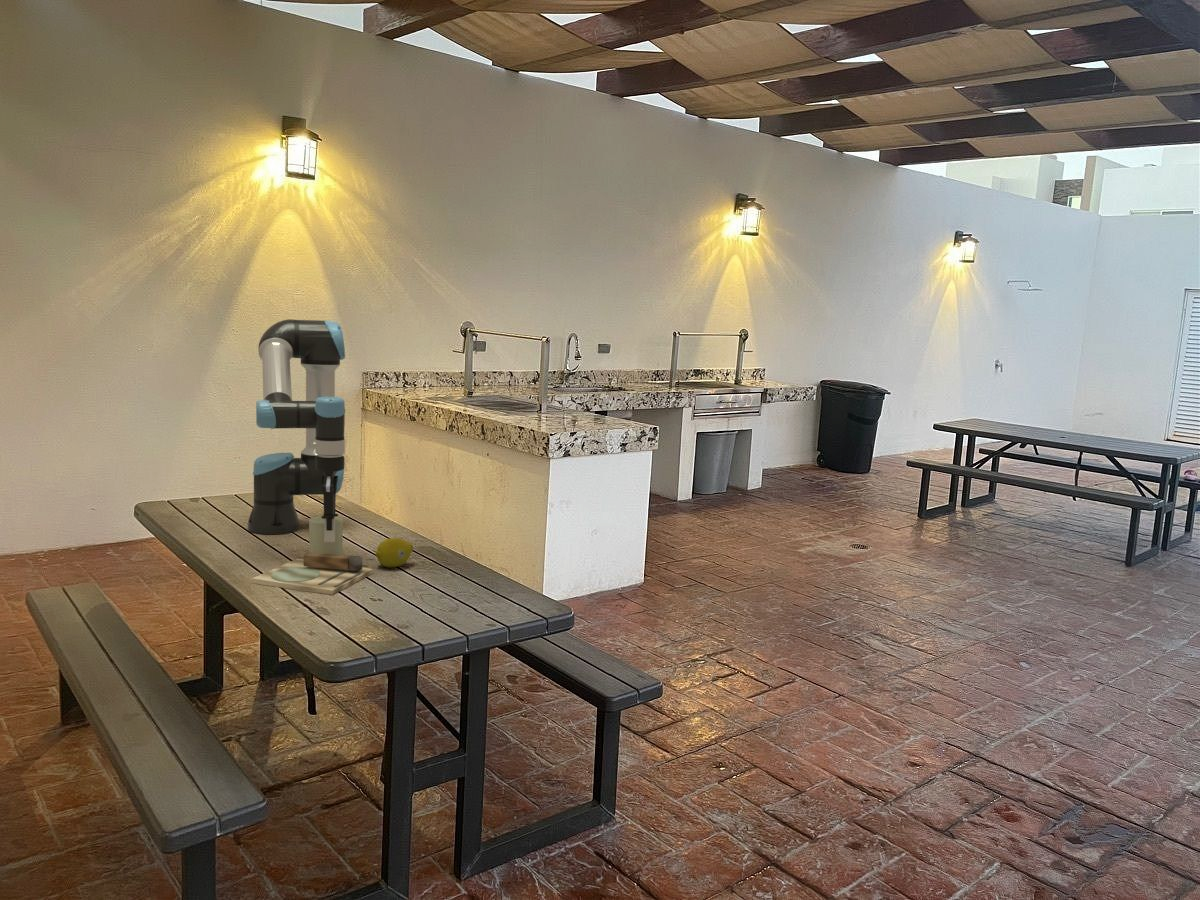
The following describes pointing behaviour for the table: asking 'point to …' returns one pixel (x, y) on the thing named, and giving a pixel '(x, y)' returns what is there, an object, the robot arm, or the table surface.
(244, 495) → the table surface
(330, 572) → the board
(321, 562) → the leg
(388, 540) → the lemon
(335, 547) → the can
